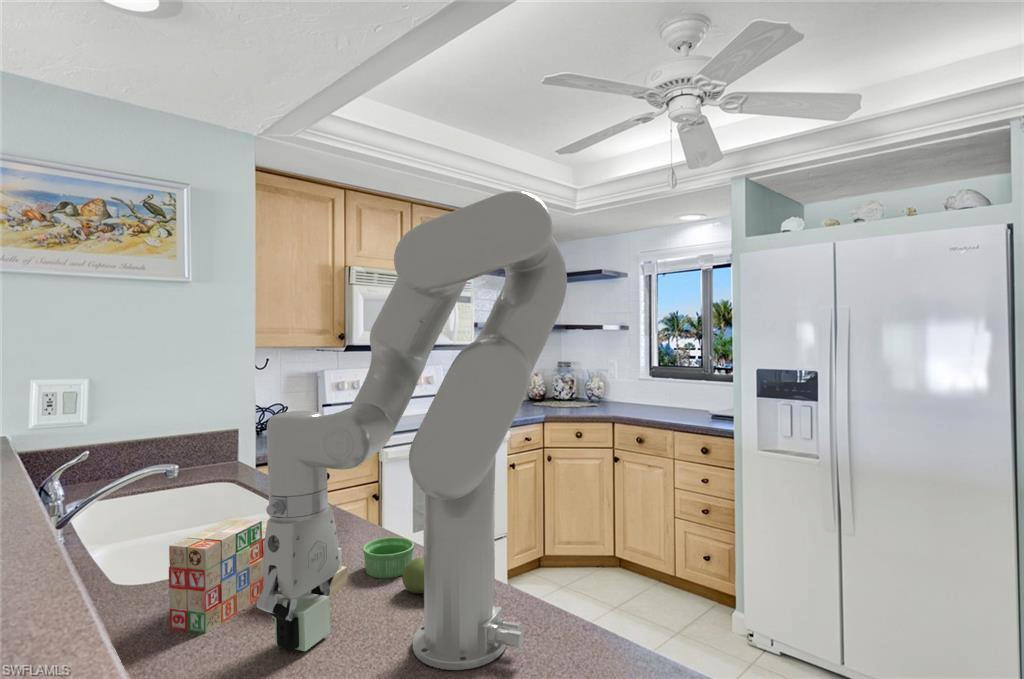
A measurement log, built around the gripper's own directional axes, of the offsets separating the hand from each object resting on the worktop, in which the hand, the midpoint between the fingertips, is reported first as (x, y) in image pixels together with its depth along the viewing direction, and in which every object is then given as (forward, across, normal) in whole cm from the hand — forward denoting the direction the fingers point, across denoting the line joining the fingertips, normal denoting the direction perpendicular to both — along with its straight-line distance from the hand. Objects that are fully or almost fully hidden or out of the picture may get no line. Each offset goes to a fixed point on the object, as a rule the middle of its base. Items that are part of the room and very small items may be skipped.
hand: (303, 634), depth 77 cm
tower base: (+1, +13, +10) cm, 16 cm away
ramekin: (+2, +25, +3) cm, 25 cm away
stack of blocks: (+1, +7, +19) cm, 20 cm away
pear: (+2, +19, -9) cm, 21 cm away
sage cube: (+1, 0, 0) cm, 1 cm away
